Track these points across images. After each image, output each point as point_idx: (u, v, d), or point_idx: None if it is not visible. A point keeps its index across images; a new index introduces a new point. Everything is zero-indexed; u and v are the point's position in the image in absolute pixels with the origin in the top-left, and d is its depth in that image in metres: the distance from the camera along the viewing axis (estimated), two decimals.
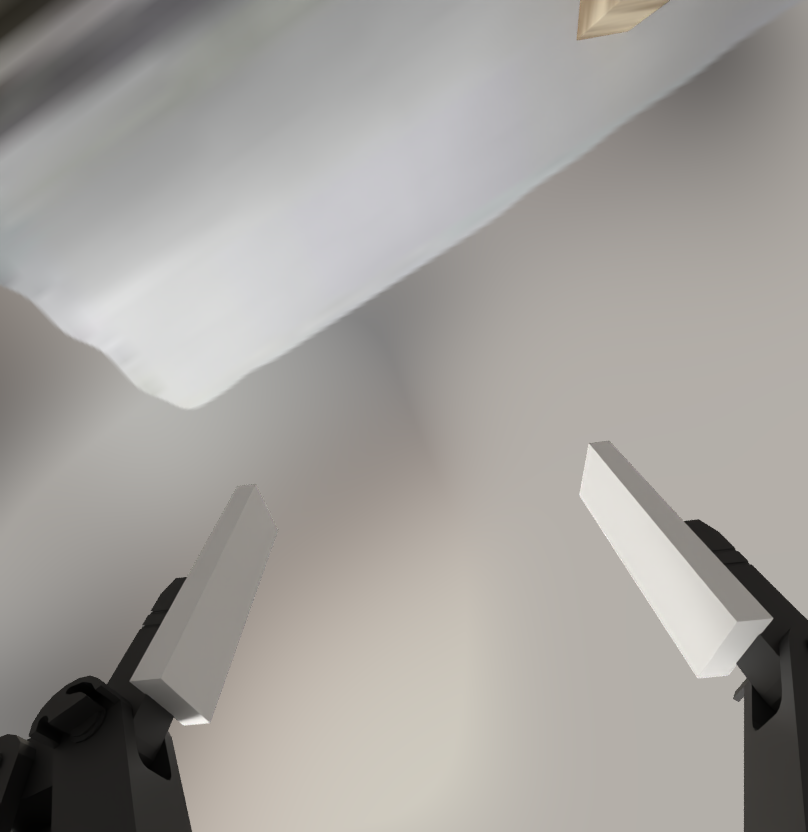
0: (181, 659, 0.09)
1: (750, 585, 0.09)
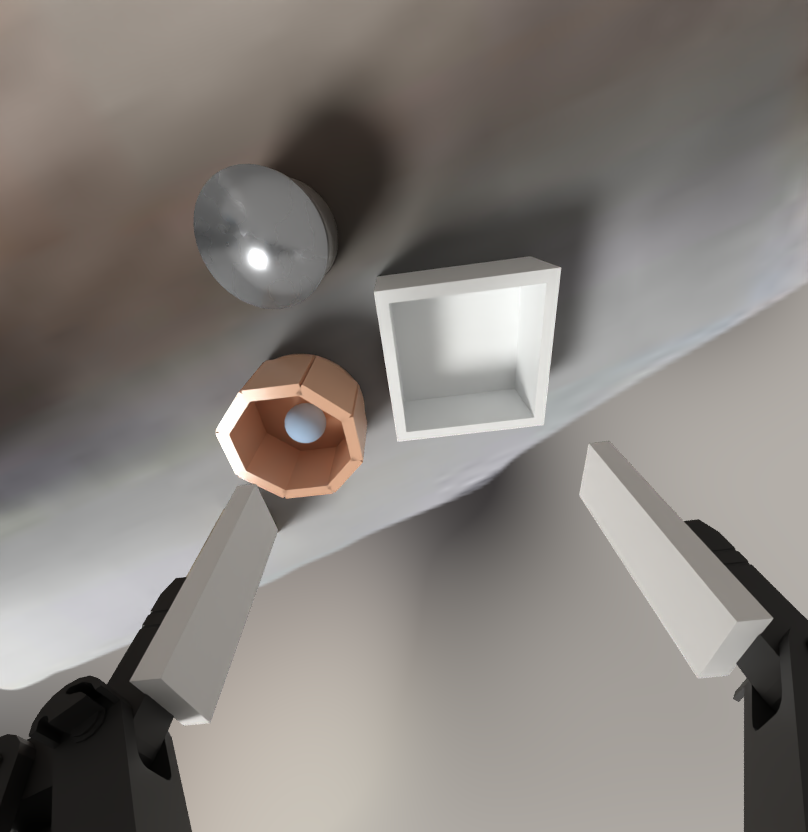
0: (181, 659, 0.09)
1: (749, 585, 0.09)
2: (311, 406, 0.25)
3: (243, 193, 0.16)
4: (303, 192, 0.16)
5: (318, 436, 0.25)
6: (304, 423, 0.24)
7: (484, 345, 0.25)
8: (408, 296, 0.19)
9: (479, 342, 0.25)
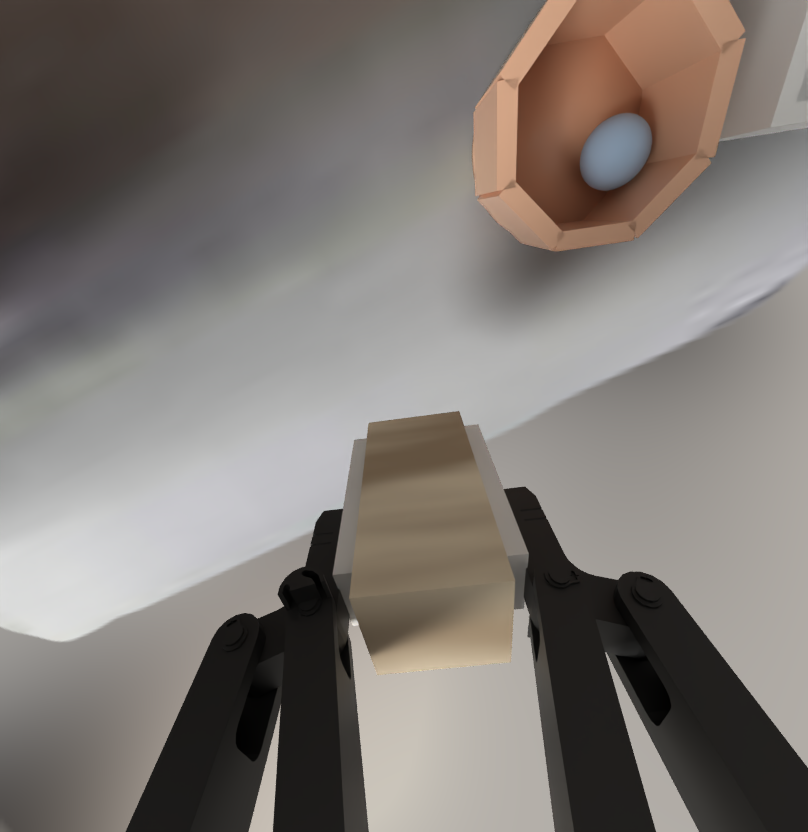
0: None
1: (537, 534, 0.11)
2: None
3: None
4: None
5: None
6: None
7: None
8: None
9: None
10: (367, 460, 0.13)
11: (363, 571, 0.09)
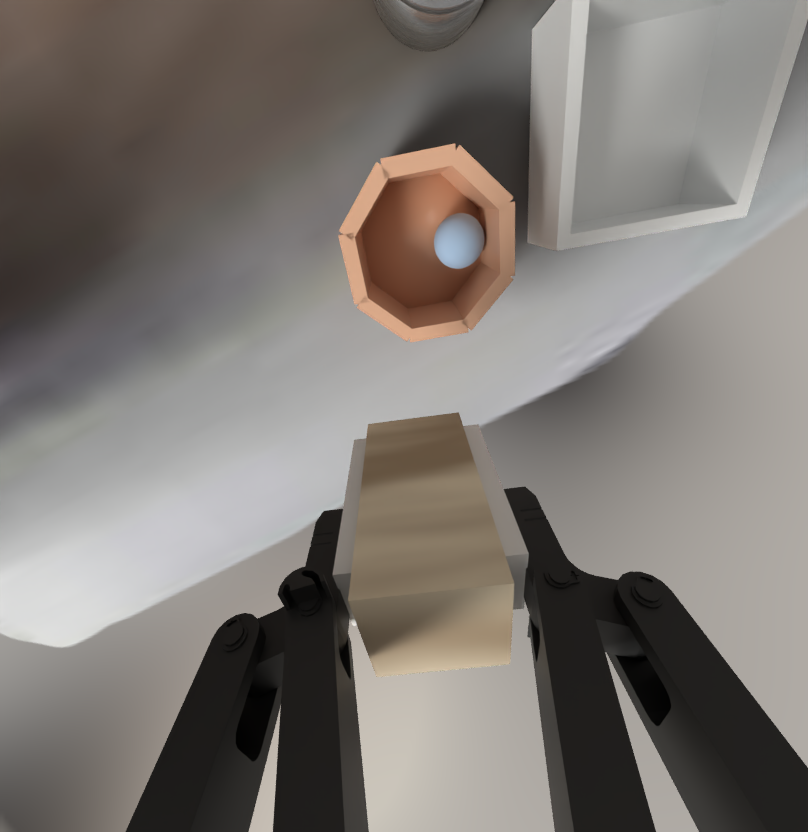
0: None
1: (538, 534, 0.11)
2: None
3: None
4: None
5: None
6: None
7: (653, 135, 0.20)
8: None
9: (647, 131, 0.20)
10: (366, 462, 0.13)
11: (362, 573, 0.09)
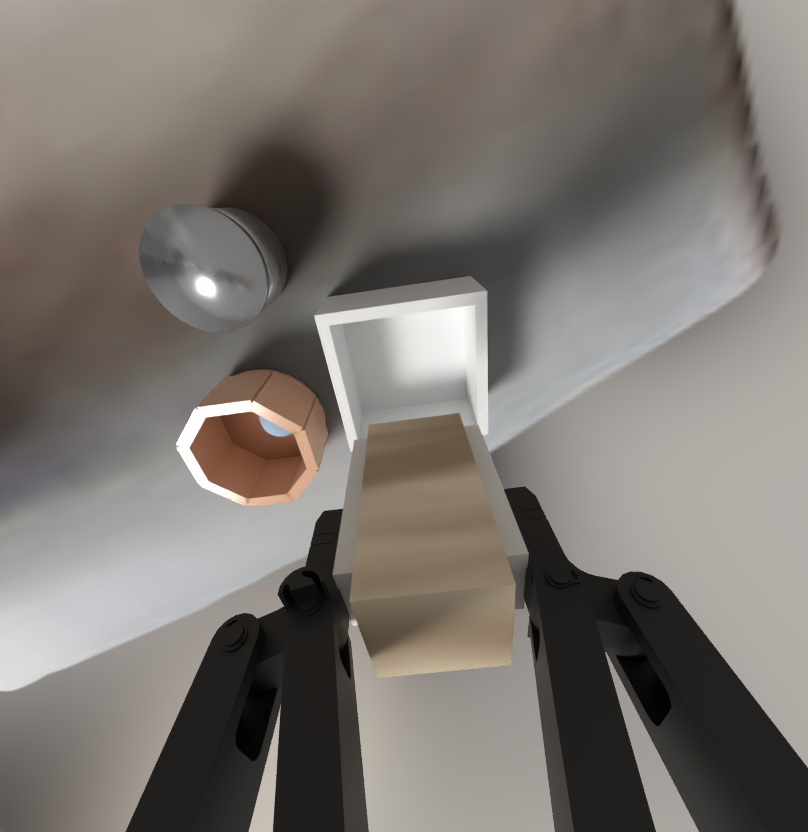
0: None
1: (537, 534, 0.11)
2: None
3: (183, 230, 0.17)
4: (238, 228, 0.17)
5: (288, 433, 0.26)
6: None
7: (434, 359, 0.26)
8: (346, 319, 0.20)
9: (428, 356, 0.26)
10: (367, 462, 0.13)
11: (363, 574, 0.09)
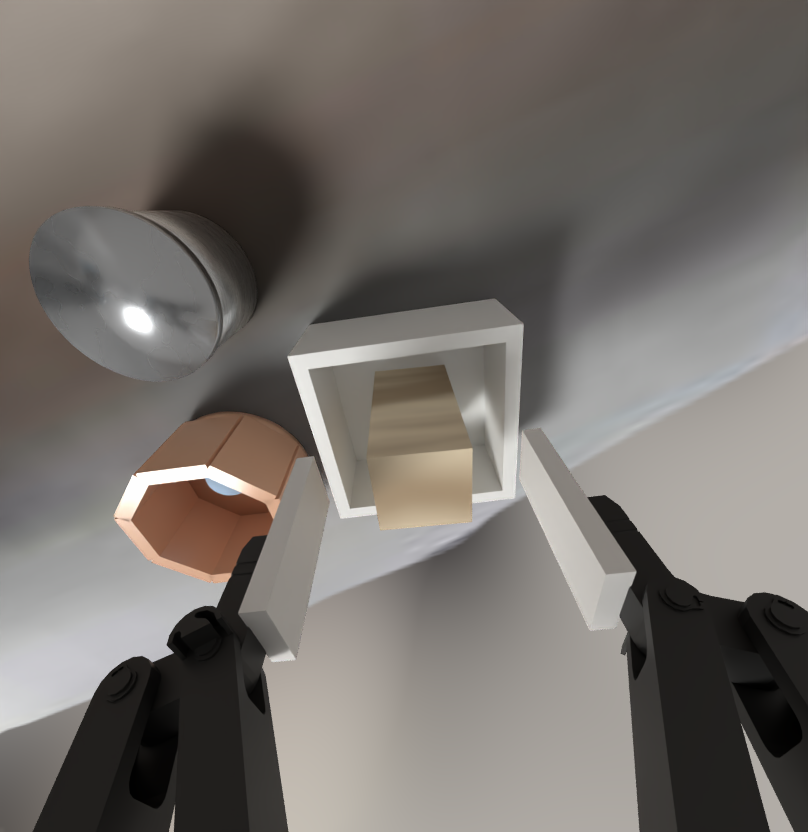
0: (277, 598, 0.10)
1: (633, 548, 0.10)
2: None
3: (90, 244, 0.12)
4: (171, 241, 0.12)
5: (221, 493, 0.20)
6: None
7: None
8: (332, 361, 0.15)
9: None
10: (375, 392, 0.17)
11: (375, 446, 0.14)
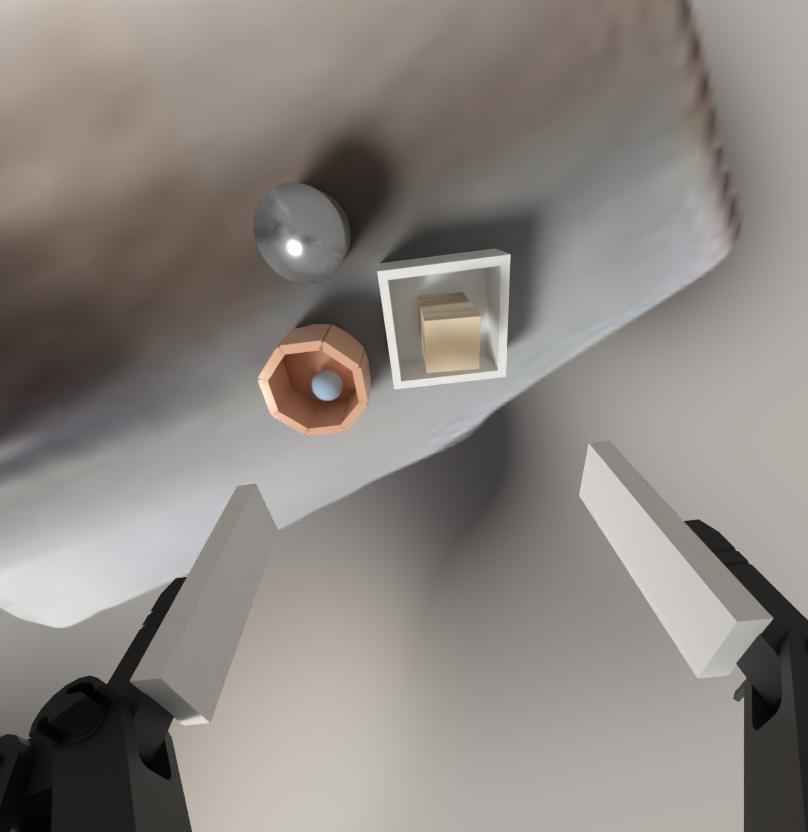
0: (181, 659, 0.09)
1: (749, 585, 0.09)
2: None
3: (289, 202, 0.23)
4: (329, 201, 0.23)
5: None
6: None
7: None
8: (401, 275, 0.26)
9: None
10: (421, 302, 0.29)
11: (427, 318, 0.25)
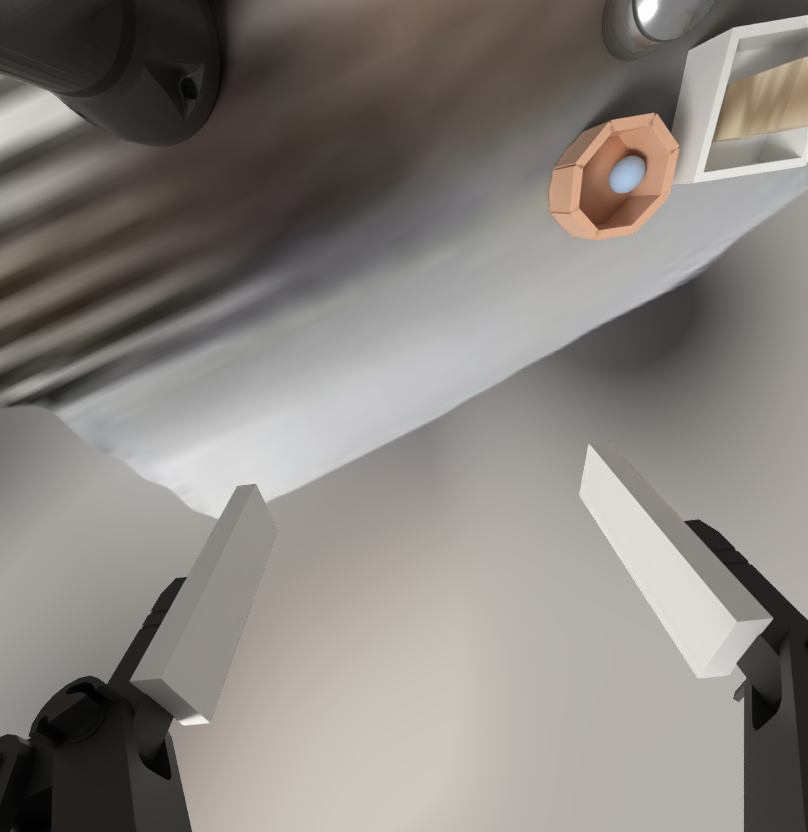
0: (181, 659, 0.09)
1: (749, 584, 0.09)
2: None
3: None
4: None
5: (620, 182, 0.33)
6: (633, 188, 0.33)
7: None
8: (755, 32, 0.27)
9: None
10: (742, 79, 0.29)
11: None
